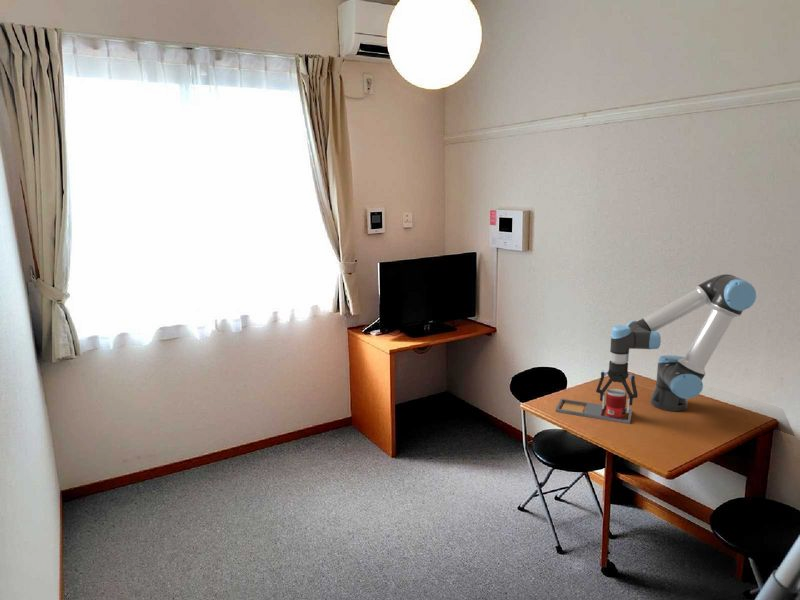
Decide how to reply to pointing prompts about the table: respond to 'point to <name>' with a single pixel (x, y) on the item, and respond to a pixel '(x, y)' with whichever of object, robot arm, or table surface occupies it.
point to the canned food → (615, 403)
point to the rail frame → (588, 410)
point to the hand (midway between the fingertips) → (615, 409)
